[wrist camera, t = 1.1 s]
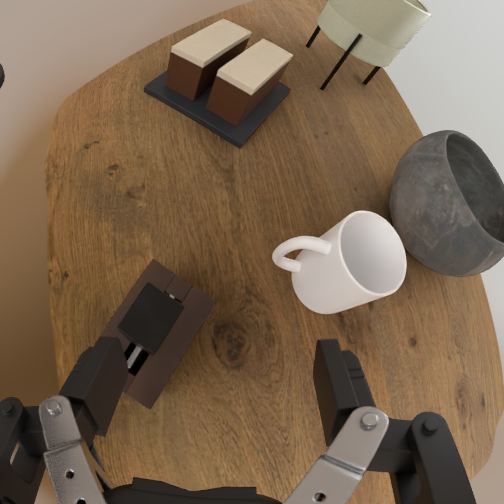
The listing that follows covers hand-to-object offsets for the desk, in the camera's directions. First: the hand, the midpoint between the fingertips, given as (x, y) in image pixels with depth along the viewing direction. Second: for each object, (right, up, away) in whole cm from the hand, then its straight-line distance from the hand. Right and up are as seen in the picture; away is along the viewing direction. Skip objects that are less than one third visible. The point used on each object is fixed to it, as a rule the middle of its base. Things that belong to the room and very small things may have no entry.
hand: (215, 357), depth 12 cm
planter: (+17, +39, +41) cm, 60 cm away
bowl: (+27, +8, +33) cm, 44 cm away
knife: (-8, -4, +16) cm, 19 cm away
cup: (+8, +1, +24) cm, 26 cm away
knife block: (-8, -4, +16) cm, 19 cm away
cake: (-3, +28, +30) cm, 41 cm away
